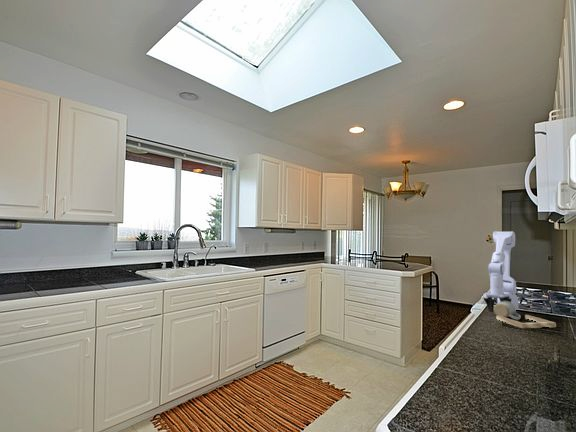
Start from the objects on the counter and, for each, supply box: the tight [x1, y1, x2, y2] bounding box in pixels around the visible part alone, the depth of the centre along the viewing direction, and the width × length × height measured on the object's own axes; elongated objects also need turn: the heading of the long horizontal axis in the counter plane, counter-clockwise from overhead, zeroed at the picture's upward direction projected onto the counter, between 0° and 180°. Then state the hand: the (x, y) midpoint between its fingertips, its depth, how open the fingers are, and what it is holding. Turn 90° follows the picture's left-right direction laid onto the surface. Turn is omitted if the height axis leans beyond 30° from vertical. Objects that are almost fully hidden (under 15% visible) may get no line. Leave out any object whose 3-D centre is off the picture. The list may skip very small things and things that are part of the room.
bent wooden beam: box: [495, 314, 557, 329], centre depth 141 cm, size 17×14×2 cm
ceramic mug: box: [493, 300, 522, 321], centre depth 151 cm, size 11×8×8 cm
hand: (497, 311), depth 157 cm, fingers open, 7 cm apart
